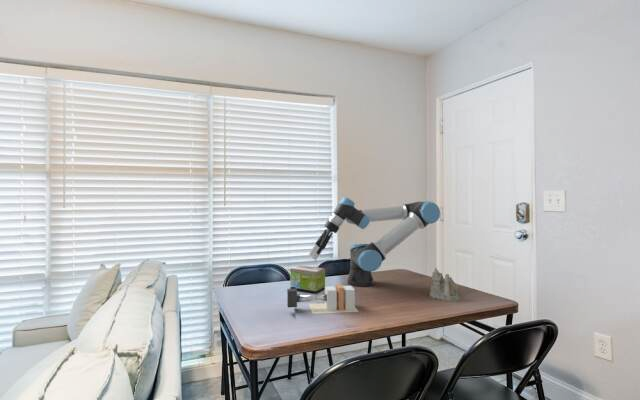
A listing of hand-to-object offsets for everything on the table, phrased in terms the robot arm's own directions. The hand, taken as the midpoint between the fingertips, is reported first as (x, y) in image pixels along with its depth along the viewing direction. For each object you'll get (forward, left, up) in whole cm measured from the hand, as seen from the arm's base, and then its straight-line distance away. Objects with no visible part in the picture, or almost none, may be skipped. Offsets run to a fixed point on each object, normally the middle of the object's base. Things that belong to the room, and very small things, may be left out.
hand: (312, 257), depth 188 cm
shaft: (+5, +32, -15) cm, 36 cm away
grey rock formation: (-66, +17, -19) cm, 71 cm away
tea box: (+3, +9, -19) cm, 21 cm away
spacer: (-9, +32, -17) cm, 37 cm away
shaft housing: (-6, +32, -18) cm, 38 cm away
